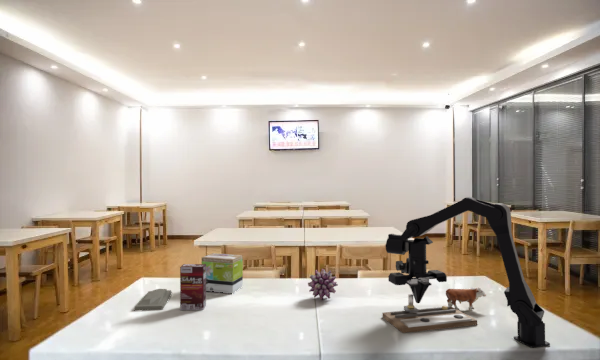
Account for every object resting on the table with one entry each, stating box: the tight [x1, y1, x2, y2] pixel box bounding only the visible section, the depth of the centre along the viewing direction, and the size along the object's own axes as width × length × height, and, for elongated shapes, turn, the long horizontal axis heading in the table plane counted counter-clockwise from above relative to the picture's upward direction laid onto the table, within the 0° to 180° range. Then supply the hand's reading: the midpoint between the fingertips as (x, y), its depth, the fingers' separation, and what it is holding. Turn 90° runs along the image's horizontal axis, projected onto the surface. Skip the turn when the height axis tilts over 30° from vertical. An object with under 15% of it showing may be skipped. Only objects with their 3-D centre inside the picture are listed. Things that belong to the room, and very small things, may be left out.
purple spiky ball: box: [307, 268, 339, 300], centre depth 150 cm, size 12×12×12 cm
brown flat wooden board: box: [382, 305, 478, 334], centre depth 125 cm, size 14×26×3 cm, turn 103°
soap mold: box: [134, 288, 173, 312], centre depth 149 cm, size 10×20×4 cm, turn 8°
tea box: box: [201, 252, 244, 294], centre depth 165 cm, size 15×10×15 cm
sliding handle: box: [403, 293, 419, 314], centre depth 127 cm, size 4×3×5 cm
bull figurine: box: [445, 286, 487, 311], centre depth 137 cm, size 4×13×8 cm, turn 78°
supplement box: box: [179, 263, 207, 311], centre depth 141 cm, size 9×5×16 cm, turn 91°
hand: (417, 302), depth 128 cm, fingers closed
